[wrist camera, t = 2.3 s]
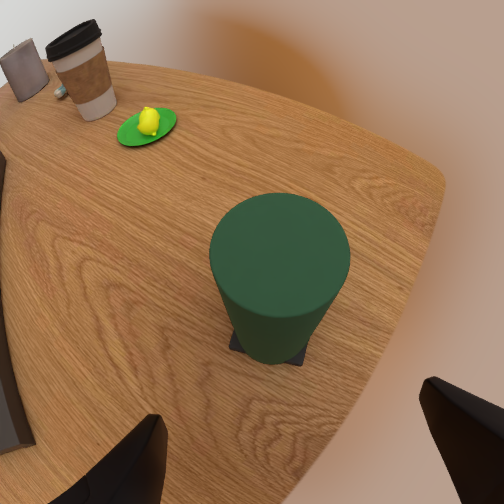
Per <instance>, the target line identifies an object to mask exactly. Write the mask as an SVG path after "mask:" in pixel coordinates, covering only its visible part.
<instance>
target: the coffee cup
mask: <svg viewBox="0 0 504 504" xmlns="http://www.w3.org/2000/svg"><path fill="white" fill-rule="evenodd" d="M101 35H102V33H101V29H99V27H98V25H97V23H96V21H95V19H92V20H89V21H86V22H83V23H81V24H79V25H77V26H75V27H74V28H72V29H71V30H69V31H67V32H66V33H64V34H62V35H61V36H59V37H58V38H56V39H55V40H54V41H52V42H51V43H50V44H48V45H47V46H46V48H45V49H46V53H47V59H48V61H49V62H52V63H53V65H54V67H55V69H56V74H57V75H58V77H59V79H60V80H61V82H62V84H63V85H64V87H65V89H66V90H67V92H68V94H69V95H70V97H71V99H72V100H73V102H74V103H75V105H76V107H77V108H78V110H79V112H80V113H81V115H82V117H83V118H84V120H86V121H93V120H97V119H99V118H101V117H103V116H105V115H107V114H108V113H109V112H111V111H112V110H113V109H114V107H115V106H116V103H117V102H116V98H115V94H114V91H113V87H112V82H111V78H110V74H109V69H108V65H107V61H106V56H105V51H104V47H103V46H102V44H101V40H100V36H101Z"/></svg>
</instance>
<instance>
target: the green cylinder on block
mask: <svg viewBox="0 0 504 504" xmlns="http://www.w3.org/2000/svg"><path fill="white" fill-rule="evenodd" d="M209 259H210V266H211V270H212V273H213V276H214V279H215V281H216V284H217V287H218V289H219V292H220V294H221V297H222V300H223V302H224V305H225V307H226V310H227V312H228V315H229V317H230V320H231V323H232V325H233V328H234V331H233V334H232V337H231V341H230V344H229V349H231V350H234V351H238V352H242V353H246V354H247V355H249V356H250V357H251V358H252V359H254V360H256V361H258V362H261V363H264V364H281V363H287V364H292V365H297V366H302V365H303V361H304V357H305V353H306V348H307V344H308V341H309V339H310V336H311V335H312V333H313V332H314V330H315V329H316V327H317V326H318V324H319V323H320V321H321V319H322V318H323V316H324V315H325V313H326V312H327V310H328V308H329V307H330V305H331V304H332V302H333V300H334V299H335V297H336V296H337V294H338V292H339V291H340V289H341V287H342V286H343V284H344V282H345V280H346V277H347V274H348V271H349V266H350V247H349V243H348V239H347V237H346V234H345V232H344V230H343V228H342V226H341V225H340V223H339V222H338V221H337V219H336V218H335V217H334V216H333V215H332V214H331V213H330V212H329V211H328V210H327V209H325V208H324V207H323V206H321V205H320V204H318V203H316V202H314V201H312V200H310V199H308V198H305V197H302V196H298V195H295V194H288V193H268V194H263V195H258V196H255V197H252V198H249V199H247V200H245V201H243V202H241V203H239V204H238V205H236V206H235V207H234V208H232V209H231V210H230V211H229V212H228V213H227V214H226V215H225V216H224V217H223V218H222V219H221V221H220V222H219V224H218V225H217V227H216V229H215V231H214V233H213V236H212V239H211V243H210V249H209Z"/></svg>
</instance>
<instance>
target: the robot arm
mask: <svg viewBox="0 0 504 504" xmlns="http://www.w3.org/2000/svg"><path fill="white" fill-rule="evenodd" d="M419 401H420V404H421V407H422V410H423V412H424V415H425V418H426V421H427V424H428V427H429V430H430V432H431V434H432V437H433V439H434V441H435V443H436V445H437V448H438V450H439V452H440V454H441V456H442V459H443V461H444V463H445V465H446V467H447V470H448V472H449V474H450V476H451V479H452V481H453V484H454V486H455V489H456V491H457V493H458V496H459V498H460V501H461V503H462V504H504V409H503V408H501V407H499V406H497V405H494V404H492V403H489V402H488V401H486V400H484V399H482V398H479V397H477V396H475V395H473V394H471V393H469V392H466V391H465V390H462V389H460V388H458V387H456V386H454V385H452V384H450V383H448V382H446V381H444V380H442V379H440V378H438V377H435V376H433V377H430V378H427V379H425V380H424V382H423V385H422V388H421V391H420V394H419ZM167 443H168V431H167V428H166V426H165V423H164V421H163V418H162V416H161V415H159V414H148V415H147V416H146V417H145V418H144V419H143V420H142V421H141V422H140V423H139V424H138V425H137V426H136V427H135V428H134V429H133V430H132V431H131V432H130V433H128V434H127V435H126V436H125V437H124V438H123V439H122V440H121V441H120V442H119V443H118V444H117V445H116V446H115V447H114V448H113V449H112V450H111V451H110V452H109V453H108V454H107V455H106V456H105V457H103V458H102V459H101V460H100V461H99V462H98V463H97V464H96V465H95V466H94V467H93V468H92V469H91V470H90V471H89V472H87V473H86V475H84V476H83V477H82V478H81V479H80V480H79V481H77V482H76V483H75V484H74V485H73V486H72V487H70V488H69V489H68V490H67V491H65V492H64V493H63V494H61V495H60V496H58V497H57V498H56V499H54V500H53V501H51V502H50V503H48V504H160V501H161V496H162V490H163V485H164V479H165V473H166V459H167Z"/></svg>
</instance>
